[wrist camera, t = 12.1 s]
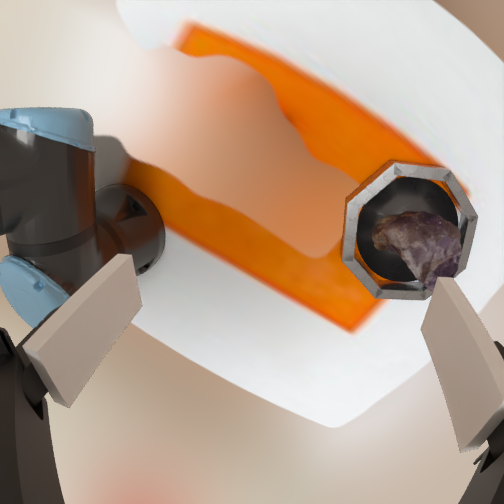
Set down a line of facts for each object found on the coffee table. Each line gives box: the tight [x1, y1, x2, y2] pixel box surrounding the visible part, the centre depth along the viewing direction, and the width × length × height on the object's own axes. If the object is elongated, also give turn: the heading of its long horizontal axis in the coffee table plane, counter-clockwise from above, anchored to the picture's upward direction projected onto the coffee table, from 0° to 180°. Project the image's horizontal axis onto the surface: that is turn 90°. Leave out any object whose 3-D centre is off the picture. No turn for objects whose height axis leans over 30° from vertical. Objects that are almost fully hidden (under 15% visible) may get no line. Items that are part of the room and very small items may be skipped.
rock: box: [372, 211, 462, 292], centre depth 35 cm, size 12×9×10 cm
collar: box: [341, 160, 478, 300], centre depth 38 cm, size 19×19×2 cm
